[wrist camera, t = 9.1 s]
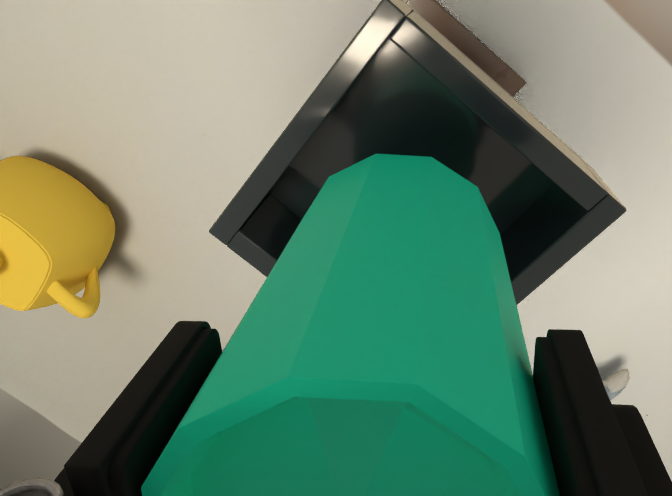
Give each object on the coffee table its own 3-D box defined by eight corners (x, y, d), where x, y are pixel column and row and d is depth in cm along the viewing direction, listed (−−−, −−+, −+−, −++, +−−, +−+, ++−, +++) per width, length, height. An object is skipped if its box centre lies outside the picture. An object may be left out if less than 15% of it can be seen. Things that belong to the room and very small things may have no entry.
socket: (247, 190, 24) (207, 231, 20) (396, -7, 20) (384, -4, 16) (420, 326, 26) (416, 392, 21) (592, 167, 22) (628, 210, 17)
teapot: (-48, 194, 53) (-156, 239, 44) (-8, 99, 49) (-118, 127, 39) (115, 308, 56) (46, 375, 46) (168, 228, 51) (104, 284, 41)
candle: (260, 237, 18) (-11, 614, 7) (406, 106, 16) (327, 375, 5) (389, 365, 19) (321, 854, 8) (543, 261, 17) (725, 756, 6)
